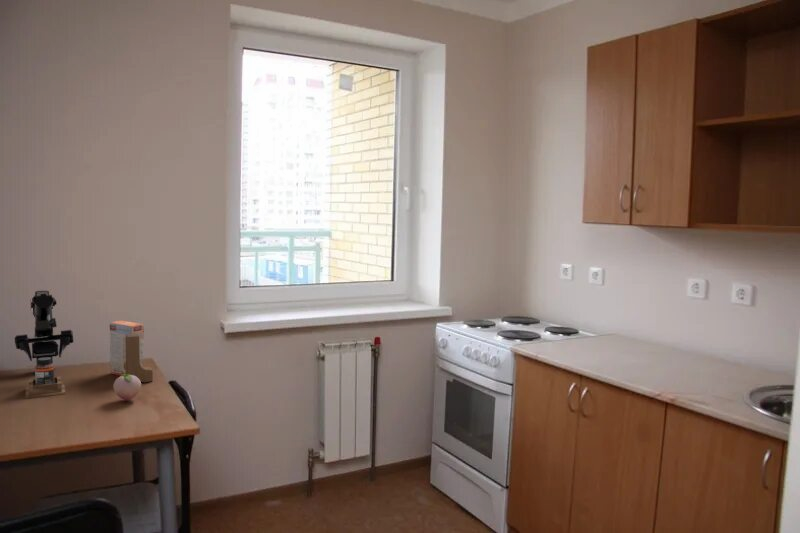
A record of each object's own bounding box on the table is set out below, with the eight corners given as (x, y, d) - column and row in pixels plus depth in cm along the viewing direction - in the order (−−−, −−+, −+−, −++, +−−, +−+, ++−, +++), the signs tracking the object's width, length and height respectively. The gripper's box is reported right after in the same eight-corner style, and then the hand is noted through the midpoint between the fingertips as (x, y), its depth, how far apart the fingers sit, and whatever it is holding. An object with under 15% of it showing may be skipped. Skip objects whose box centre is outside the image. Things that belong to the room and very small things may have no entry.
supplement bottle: (46, 386, 222) (46, 355, 221) (59, 388, 220) (58, 357, 219) (31, 390, 216) (30, 359, 215) (44, 392, 214) (43, 361, 213)
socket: (26, 389, 220) (25, 379, 220) (64, 384, 226) (63, 375, 226) (25, 398, 210) (25, 388, 209) (65, 393, 216) (65, 383, 215)
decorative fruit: (146, 401, 210) (145, 372, 209) (121, 406, 204) (121, 377, 203) (134, 395, 216) (133, 367, 215) (110, 400, 210) (109, 371, 209)
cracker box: (145, 376, 240) (144, 323, 238) (131, 379, 235) (130, 326, 233) (123, 370, 247) (122, 319, 246) (109, 373, 242) (108, 321, 240)
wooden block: (151, 378, 237) (151, 332, 235) (152, 381, 233) (152, 335, 232) (126, 381, 233) (125, 334, 231) (127, 384, 229) (126, 336, 227)
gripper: (12, 314, 222) (13, 351, 214) (70, 308, 231) (73, 344, 223) (16, 330, 230) (16, 366, 222) (72, 324, 239) (74, 359, 231)
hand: (45, 358), depth 225 cm, fingers open, 9 cm apart
